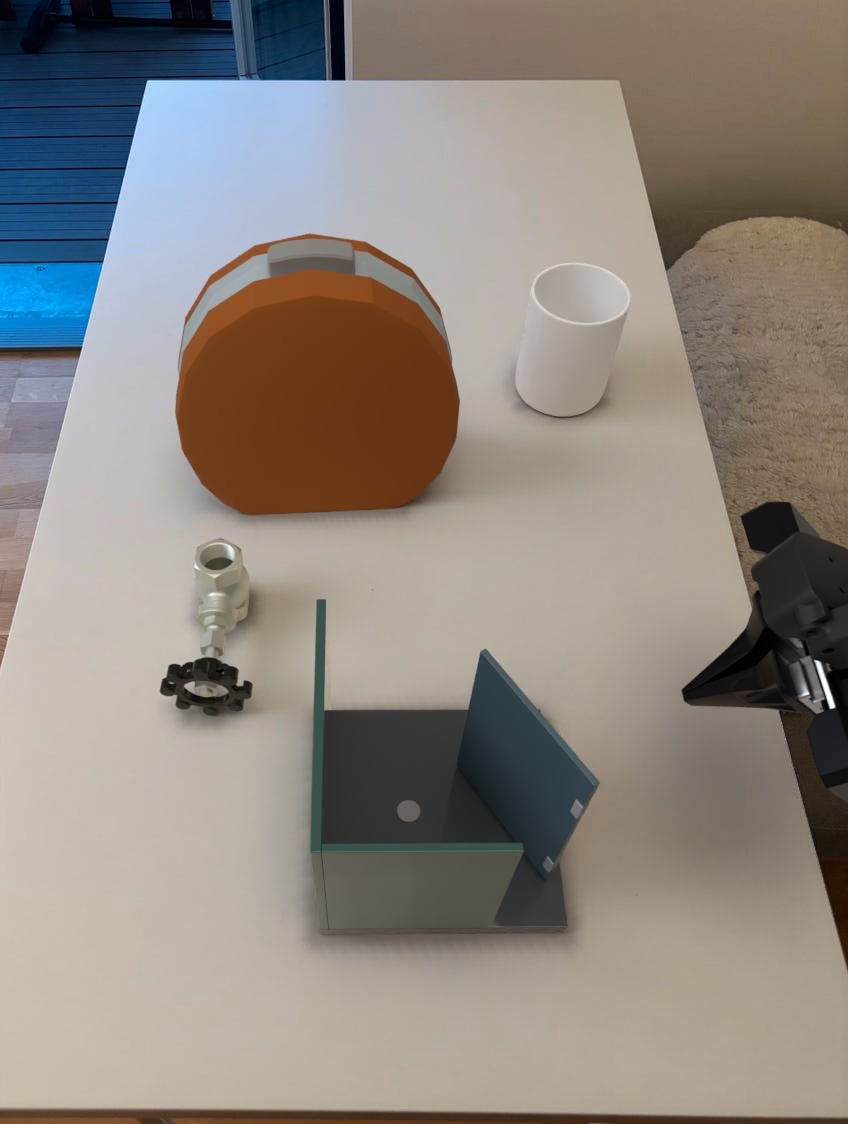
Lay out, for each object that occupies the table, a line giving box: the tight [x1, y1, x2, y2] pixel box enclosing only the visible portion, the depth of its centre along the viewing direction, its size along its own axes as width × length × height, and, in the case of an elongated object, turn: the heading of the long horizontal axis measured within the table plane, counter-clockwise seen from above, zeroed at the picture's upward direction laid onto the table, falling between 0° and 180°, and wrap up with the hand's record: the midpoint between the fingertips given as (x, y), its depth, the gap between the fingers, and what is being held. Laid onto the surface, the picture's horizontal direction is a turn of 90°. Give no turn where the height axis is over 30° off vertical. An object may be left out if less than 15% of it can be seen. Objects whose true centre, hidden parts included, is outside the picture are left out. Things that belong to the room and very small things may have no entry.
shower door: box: [456, 648, 601, 880], centre depth 56 cm, size 2×10×15 cm, turn 33°
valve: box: [159, 537, 254, 717], centre depth 69 cm, size 7×7×12 cm
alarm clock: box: [174, 233, 461, 516], centre depth 72 cm, size 22×10×23 cm, turn 94°
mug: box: [514, 262, 632, 417], centre depth 84 cm, size 9×12×11 cm
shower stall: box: [309, 598, 569, 935], centre depth 58 cm, size 16×16×15 cm
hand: (685, 698), depth 58 cm, fingers closed
